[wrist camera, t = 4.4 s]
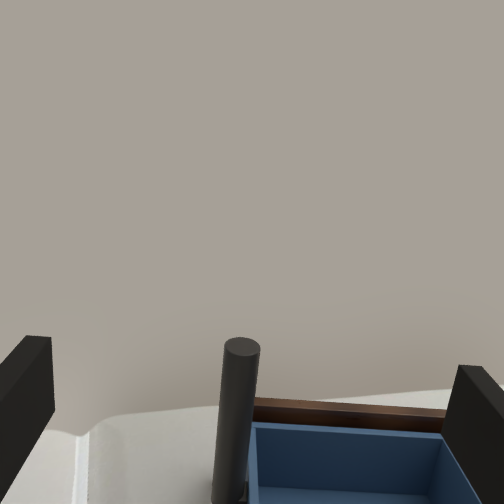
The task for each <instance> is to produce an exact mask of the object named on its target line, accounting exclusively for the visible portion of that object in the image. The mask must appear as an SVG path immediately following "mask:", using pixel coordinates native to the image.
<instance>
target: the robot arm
mask: <svg viewBox="0 0 504 504" xmlns="http://www.w3.org/2000/svg"><path fill="white" fill-rule="evenodd" d="M54 412H55V400H54V381H53V362H52V342H51V337H42V336H28V335H27V336H25V337H24V338H23V340H22V341H21V342H20V343H19V344H18V345H17V346H16V347H15V349H14V350H13V351H12V352H11V353H10V354H9V355H8V356H7V357H6V358H5V360H4V361H3V362H2V363H1V364H0V503H1V501H2V500H3V498H4V496H5V495H6V493H7V491H8V490H9V488H10V486H11V484H12V483H13V481H14V479H15V478H16V476H17V474H18V473H19V471H20V469H21V468H22V466H23V464H24V462H25V461H26V459H27V457H28V456H29V454H30V452H31V451H32V449H33V447H34V446H35V444H36V442H37V440H38V439H39V437H40V435H41V434H42V432H43V430H44V429H45V427H46V425H47V423H48V422H49V420H50V418H51V417H52V415H53V413H54ZM440 434H441V436H442V437H443V439H444V441H445V442H446V444H447V446H448V447H449V449H450V451H451V452H452V454H453V456H454V457H455V459H456V461H457V462H458V464H459V466H460V467H461V469H462V471H463V472H464V474H465V476H466V478H467V479H468V481H469V483H470V484H471V486H472V488H473V489H474V491H475V493H476V494H477V496H478V498H479V499H480V501H481V503H482V504H504V391H503V390H502V388H501V387H500V386H499V385H498V384H497V383H496V382H495V381H494V380H493V379H492V377H491V376H490V375H489V374H488V373H487V372H486V371H485V370H484V368H483V367H482V366H470V365H459V366H458V370H457V374H456V377H455V381H454V385H453V389H452V392H451V396H450V400H449V403H448V407H447V411H446V415H445V418H444V422H443V426H442V430H441V433H440Z"/></svg>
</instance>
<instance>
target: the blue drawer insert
mask: <svg viewBox="0 0 504 504" xmlns="http://www.w3.org/2000/svg"><path fill="white" fill-rule="evenodd" d="M259 356H260V345H259V344H258V343H257V342H256V341H254V340H252V339H249V338H244V337H236V338H232V339H229V340H228V341H226V343H225V345H224V356H223V368H222V379H221V391H220V402H219V414H218V426H217V437H216V449H215V461H214V473H213V484H212V496H211V501H212V504H482V503H481V501H480V499H479V498H478V496H477V494H476V493H475V491H474V489H473V488H472V486H471V484H470V483H469V481H468V479H467V478H466V476H465V474H464V472H463V471H462V469H461V467H460V466H459V464H458V462H457V461H456V459H455V457H454V456H453V454H452V452H451V451H450V449H449V447H448V446H447V444H446V442H445V441H444V439H443V437H442V436H441V434H439V433H423V432H407V431H391V430H375V429H359V428H343V427H327V426H311V425H295V424H279V423H263V422H252V418H253V410H254V401H255V392H256V383H257V374H258V366H259Z"/></svg>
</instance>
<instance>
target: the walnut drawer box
mask: <svg viewBox="0 0 504 504" xmlns="http://www.w3.org/2000/svg"><path fill="white" fill-rule="evenodd" d="M446 411H447V410H444V409H428V408H413V407H398V406H382V405H367V404H352V403H336V402H321V401H306V400H290V399H274V398H260V397H255V401H254V410H253V418H252V422H263V423H279V424H295V425H311V426H327V427H343V428H359V429H375V430H391V431H407V432H423V433H439V434H440V433H441V430H442V426H443V422H444V418H445V415H446Z"/></svg>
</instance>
